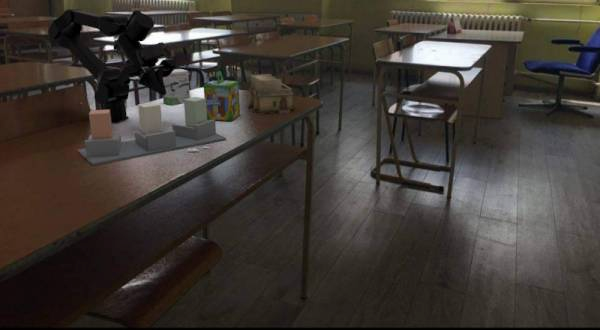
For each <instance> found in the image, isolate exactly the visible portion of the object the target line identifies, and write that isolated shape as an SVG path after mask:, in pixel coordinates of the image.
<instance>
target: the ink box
mask: <svg viewBox="0 0 600 330" xmlns="http://www.w3.org/2000/svg"><path fill="white" fill-rule="evenodd" d="M189 78H190V77H189V70H186V69H182V68H175V69H174V70H173V72H172V73H171V74H170V75H169V76H168V77H163V82H164V86H165V89H166V95H164V96H163V95H162V96H163V97H162V99H163V102H162V103H163V104H165V105H168V106H175V105H181V104H184V100H185V99H188V98H191V95H190V79H189Z"/></svg>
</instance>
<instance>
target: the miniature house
mask: <svg viewBox="0 0 600 330" xmlns="http://www.w3.org/2000/svg"><path fill="white" fill-rule="evenodd" d="M249 93H250V97H249V103H248V106H247V109H248V108H253V109H252V110H251V112H252V113H253V112H257V111H258V112H259V113H270V114H272V113H271V112H279V113H278V114H280V113H281V112H287V111H289V112H290V110H292V108H294V109H295V106H294V103H293V96H294V93H293V88H291V87H289V86H288V85H286V84H284V83H282V79H280V78H276V77H275V76H273V75H272V73H265V74H259V73H258V74H250V88H249ZM292 111H293V110H292ZM258 112H257V113H258ZM259 113H258V114H259Z"/></svg>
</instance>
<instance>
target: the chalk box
mask: <svg viewBox="0 0 600 330" xmlns="http://www.w3.org/2000/svg"><path fill="white" fill-rule="evenodd" d="M215 76H216V77H217V80H213V81H210V82H209V81H207V82H206V83H204V84H203V95H204V96H203V98H206V109H207V121H209V120H215V121H226V122H228V121H229V122H233V121H234V120H235V119H236V118H238V117H240V115H241V109H240V108H241V105H240V104H241V103H240V102H241V101H240V81H237V80H236V81H227V80H223V78H224V76H223V74H222V71H221V70H219V71H216V73H215ZM219 77H220V78H221V80H220V79H219Z"/></svg>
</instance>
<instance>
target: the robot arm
mask: <svg viewBox="0 0 600 330" xmlns="http://www.w3.org/2000/svg"><path fill="white" fill-rule="evenodd" d="M84 26H85V27H89V28H93V29H97V30H98V31H99V33H101V34H102V35H104V36H106V37H118V38H117V39H115V40H114V44H113V50H115V51H117V50H120V51H121V52H122V53H123V54H124V56H125V58H126V61H125V63H126V64H127V65H124V66H123V68H122V69H121V71H120V69H118V68H115V69H109V67H107V65H106V64H104V63H103V61H102V60H101V59H100V58H99V57H98V56H97V55H96V54H95V53H94V52H93V50H92V49H90V48H89V46H88V45H86V43H85V42H84V41H83V39H82V31H83V27H84ZM154 27H155V22H154V20H153V18H152V17H150V16H148V15H147V14H145V13H142V11H141V10H139V9H135V10H133V12H132V13H131V15H130V17H129V18H128V17H127V16H126V15H123V14H121V15H120V14H119V15H117V14H116V15H115V14H114V15H103V14H101V13H99V14H98V13H94V12H90V11H86V10H82V9H80V8H69V9H66V10H64V12H63V13H62V15H59V16H58V17H57V18H56V19H54V20H53V21H52V23H51V24H50V26H49V27H48V30H47V34H48V36H49V39H51V41H53V42H54V43H55V44H56V45H57V46H58V47H61V48H64V49H67V50H68V51H69V52H71V54H72V55H73V56H74V57H75V58H76V60H78V62H80V63H81V65H82V66H83V67H84V68H85V69H86V70H87V71H88V72H89V73H90V74H91V75H92V77H93V78H94V79H95V80H96V87H97V91H96V92H95V94H94V95H93V96H94V99H95V102H96V103H97V104H100V108H101V109H100V110H110V115H111V123H114V124H115V123H117V124H118V123H121V122H123V121H125V120H127V119H130V117H129V116H127V115H128V114H127V107H126V105H125V100H128V99H129V93H130V89H131V88H130V87H131V86H130V83H131V79H130V78H137V77H138V82H137V84H138V85H141V86H144V87H146V88H148V89H150V90H152V91H154V92H156V93H157V94H160V95H161V96H164V95H166V89H165V86H164V82H163V77H168V76H169V75H170V74H171V73H172V72H173V70H174V69H177V67H178V63H177V62H176V60H175V59H174V58H168V59H167V58H166V59H162V60H161V61H160V63H159V59H160V58H162V57H165V56H166V53H168V47H167V45H166V44H165V43H164V42H163V41H162V42H158V43H155V44H153V45H149V46H147V47H144V46H143V44H142V43H141V42H145V40H146V39H147V37H148V36H149V34H150V33H151V31H152V30H153V29H154ZM157 63H159V64H158V65H156V64H157Z"/></svg>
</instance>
